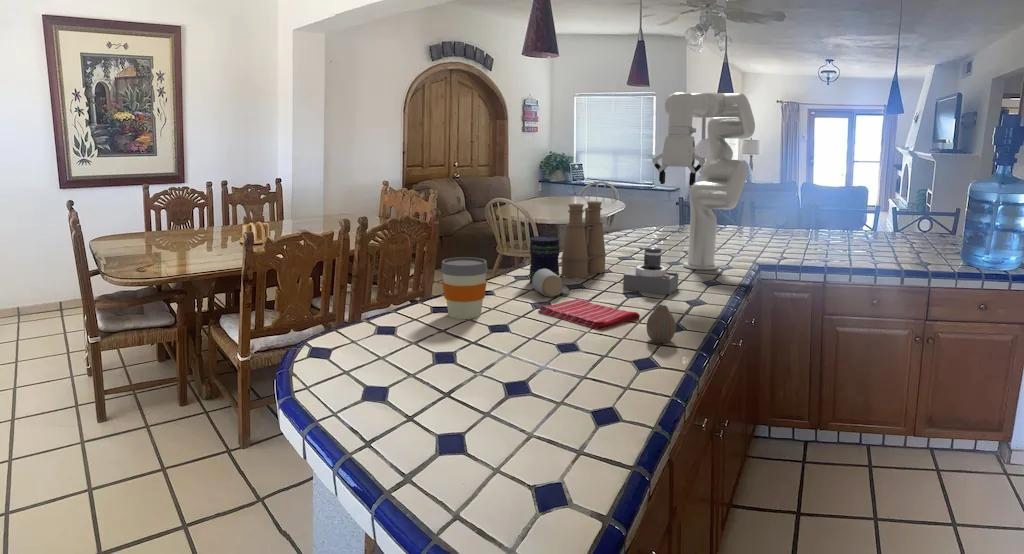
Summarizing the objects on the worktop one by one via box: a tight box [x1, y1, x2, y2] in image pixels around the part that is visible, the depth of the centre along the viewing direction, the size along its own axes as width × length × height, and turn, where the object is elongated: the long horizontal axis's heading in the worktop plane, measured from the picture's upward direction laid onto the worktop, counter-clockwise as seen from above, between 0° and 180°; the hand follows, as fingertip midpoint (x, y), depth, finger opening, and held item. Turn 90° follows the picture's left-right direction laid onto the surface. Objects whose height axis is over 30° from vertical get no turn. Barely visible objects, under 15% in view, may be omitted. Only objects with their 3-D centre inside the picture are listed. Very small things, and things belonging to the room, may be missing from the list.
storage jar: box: [529, 235, 561, 284], centre depth 225 cm, size 10×10×15 cm
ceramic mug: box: [531, 269, 570, 298], centre depth 209 cm, size 11×8×8 cm
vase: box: [646, 304, 677, 344], centre depth 164 cm, size 7×7×9 cm
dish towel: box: [537, 298, 641, 330], centre depth 186 cm, size 17×24×3 cm
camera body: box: [622, 264, 679, 296], centre depth 217 cm, size 10×15×7 cm, turn 62°
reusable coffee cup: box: [440, 256, 488, 320], centre depth 185 cm, size 13×13×15 cm
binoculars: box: [560, 200, 608, 279], centre depth 238 cm, size 21×10×25 cm, turn 138°
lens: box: [643, 246, 662, 270], centre depth 215 cm, size 5×5×8 cm
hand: (676, 184), depth 225 cm, fingers open, 9 cm apart
